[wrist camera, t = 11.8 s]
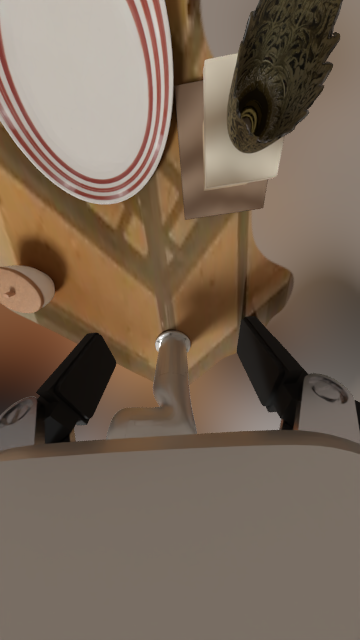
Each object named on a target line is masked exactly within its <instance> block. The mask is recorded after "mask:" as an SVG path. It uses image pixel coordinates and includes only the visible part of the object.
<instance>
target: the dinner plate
mask: <svg viewBox="0 0 360 640" xmlns="http://www.w3.org/2000/svg"><path fill="white" fill-rule="evenodd" d="M173 87H174V76H173V55H172V44H171V34H170V27H169V20H168V15H167V9H166V4H165V0H0V121H1V122H2V124H3V126H4V127H5V129H6V130H7V132H8V133H9V134H10V136H11V137H12V139H13V140H14V142H15V143H16V144H17V146H18V147H19V148H20V149H21V151H22V152H23V153H24V154H25V155H26V157H27V158H28V159H29V160H30V161H31V162H32V163H33V164H34V165H35V167H36V168H37V169H38V170H39V171H40V172H42V173H43V174H44V175H45V176H46V177H47V178H48V179H49V180H50V181H52V182H53V183H54V184H55V185H57V186H58V187H60V188H61V189H63V190H64V191H66V192H67V193H69V194H71V195H73V196H74V197H77V198H79V199H81V200H84V201H87V202H90V203H95V204H114V203H119V202H122V201H124V200H127V199H129V198H130V197H132V196H133V195H135V194H136V193H137V192H139V191H140V190H141V189H142V188H143V187H144V186H145V185H146V184H147V182H148V181H149V179H150V178H151V177H152V175H153V174H154V172H155V170H156V168H157V166H158V164H159V162H160V160H161V157H162V154H163V151H164V148H165V145H166V141H167V137H168V133H169V128H170V122H171V115H172V106H173Z"/></svg>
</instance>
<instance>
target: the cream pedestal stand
mask: <svg viewBox="0 0 360 640" xmlns="http://www.w3.org/2000/svg"><path fill="white" fill-rule="evenodd" d="M237 56H238V53H236V54H231V55H226V56H222V57H217V58H212V59H207V60H205V63H204V69H203V80H202V81H197V82H192V83H187V84H182V85H177V86H175V103H176V115H177V127H178V140H179V152H180V164H181V177H182V189H183V201H184V214H185V220H187V219H194V218H200V217H207V216H214V215H221V214H227V213H234V212H241V211H248V210H255V209H260V208H263V205H264V199H265V193H266V187H267V181H268V179H272V178H274V177H276V176H277V173H278V168H279V162H280V157H281V151H282V146H283V141H284V136H283V137H281V138H280V139H279V140H277V141H276V142H274V143H273V144H271V145H269V146H268V147H266V148H264V149H262V150H260V151H258V152H255V153H249V154H247V153H243V152H240V151H239V150H237V149H236V148H235V146H234V145H233V144H232V142H231V140H230V137H229V134H228V129H227V106H228V99H229V93H230V88H231V84H232V79H233V75H234V70H235V66H236V62H237ZM243 121H244V122H245V123H246V124H247V125H248V128H249V130H250V131H251V120H250V119H249V118H248V117H245V118H243Z"/></svg>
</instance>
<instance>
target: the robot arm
mask: <svg viewBox="0 0 360 640" xmlns="http://www.w3.org/2000/svg"><path fill="white" fill-rule="evenodd" d="M155 347H156V349H157V351H158V359H157V365H156V371H155V377H154V384H153V393H154V397H155V399H156V401H157V402H158V404H159V406H160V407H155V408H138V407H137V408H136V407H132V408H124V409H121V410H119V411H118V412H117V413H116V414H115V415H114V417H113V419H112V421H111V423H110V426H109V429H108V432H107V436H106V440H93V441H78V442H76V440H75V433H74V427H75V425H76V424H77V425H87V423H88V421H89V419H90V418H91V417H92V416H93V414H94V412H95V410H96V408H97V405H98V404H99V401H100V399H101V397H102V395H103V392H104V390H105V388H106V386H107V384H108V382H109V379H110V377H111V375H112V373H113V371H114V369H115V366H116V360H115V359H114V357H113V355H112V353H111V351H110V350H109V348H108V346H107V344H106V343H105V341H104V339H103V337H102V336H101V335H99V334H98V333H89V334H87V335H86V336H85V337H84V338H83V339H82V340H81V341H80V343H79V344H78V345H77V346H76V347H75V348H74V350H73V351H72V352H71V353H70V354H69V355H68V357H67V358H66V359H65V360H64V361H63V362H62V363H61V364H60V365H59V367H58V368H57V369H56V370H55V371H54V372H53V374H52V375H51V376H50V377H49V378H48V379H47V380H46V381H45V383H44V384H43V385H42V386H41V387H40V388H39V390H38V391H37V392H36V393H37V394H39V395H40V397H39V398H38V399H37V398H35V397H27V398H24V399H22V400H20V401H18V402H16V403H15V404H13V405H12V406H10V407H9V408H8V409H7V410H6V411H4V412H3V413H2V414H1V416H0V640H360V402H358V401H356V400H354V398H353V395H352V394H351V393H350V391H349V390H348V389H347V388H346V387H345V386H344V385H342V384H341V383H340V382H338V381H337V380H335V379H333V378H331V377H328V376H325V375H322V374H316V373H313V374H307V372H306V371H305V370H304V369H303V368H302V367H301V366H300V365H299V363H298V362H297V361H296V360H295V359H294V358H293V357H292V356H291V355H290V353H289V352H288V351H287V350H286V349H285V348H284V347H283V346H282V345H281V344H280V342H279V341H278V340H277V339H276V338H275V337H274V336H273V335H272V334H271V333H270V332H269V331H268V330H267V329H266V328H265V326H264V325H263V324H262V323H261V322H260V321H259V320H258V319H257V318H256V317H255V316H249V317H245V318H244V319H242V320H241V325H240V332H239V339H238V345H237V354H238V356H239V358H240V360H241V362H242V364H243V366H244V369H245V370H246V373H247V375H248V377H249V379H250V381H251V383H252V385H253V387H254V389H255V391H256V394H257V395H258V398H259V400H260V402H261V404H262V405H263V406H266V408H267V410H268V411H269V412H277V413H278V415H279V416H280V418H281V423H280V428H279V430H266V431H240V432H222V433H205V434H197V431H196V426H195V421H194V417H193V413H192V407H191V401H190V392H189V378H188V364H187V352H188V351H189V349H190V340H189V338H188V337H187V336H186V335H185V334H184V333H182V332H179V331H166V332H164V333H162V334H160V335H159V336H158V337H157V339H156V343H155Z"/></svg>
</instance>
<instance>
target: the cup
mask: <svg viewBox="0 0 360 640" xmlns="http://www.w3.org/2000/svg"><path fill="white" fill-rule="evenodd" d="M342 1H343V0H260V1H259V3H258V5H257V8H256V10H255V11H252V12H251V13H250V16H249V19H248V22H247V26H246V30H245V34H244V37H243V41H241V44H240V48H239V52H238V56H237V62H236V66H235V70H234V75H233V79H232V84H231V88H230V93H229V99H228V106H227V129H228V134H229V137H230V140H231V142H232V144H233V145H234V146H235V148H236V149H237V150H239V151H240V152H243V153H247V154H249V153H255V152H258V151H260V150H262V149H264V148H266V147H268V146H269V145H271V144H273V143H274V142H276V141H277V140H279V139H280V138H281V137H283V136H285V135H287V134H288V133H290V132H292V131H293V130H294V129H295V126H296V125H297V124H298V123H299V122H301V121H302V120H303V119H304V118H305V117H306V116H307V115H308V114H309V111H308V110H307V109H308V108H309V107H311V105H312V104H313V102H314V101H315V100H316V98H317V97H318V96H319V95H320V93H321V92H322V90H323V88H324V85H322V84H323V83H324V82H325V80H326V78H327V77H328V75H329V73H330V72H331V70H332V67H333V64H332V63H330V62H326V60H327V58H328V56H329V55H330V53H331V52H332V51H333V49H334V48H335V46H336V45H337V43H338V42H339V40H340V34H339V33H337V32H335V33H333V29H334V25H335V22H336V20H337V18H338V15H339V12H340V9H341V5H342ZM332 34H333V35H334V36H332ZM325 62H326V63H325ZM245 117H248V118H249V119H250V120H251V131H250V130H249V128H248V125H247V124H246V123H245V122H244V121H243V118H245Z"/></svg>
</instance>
